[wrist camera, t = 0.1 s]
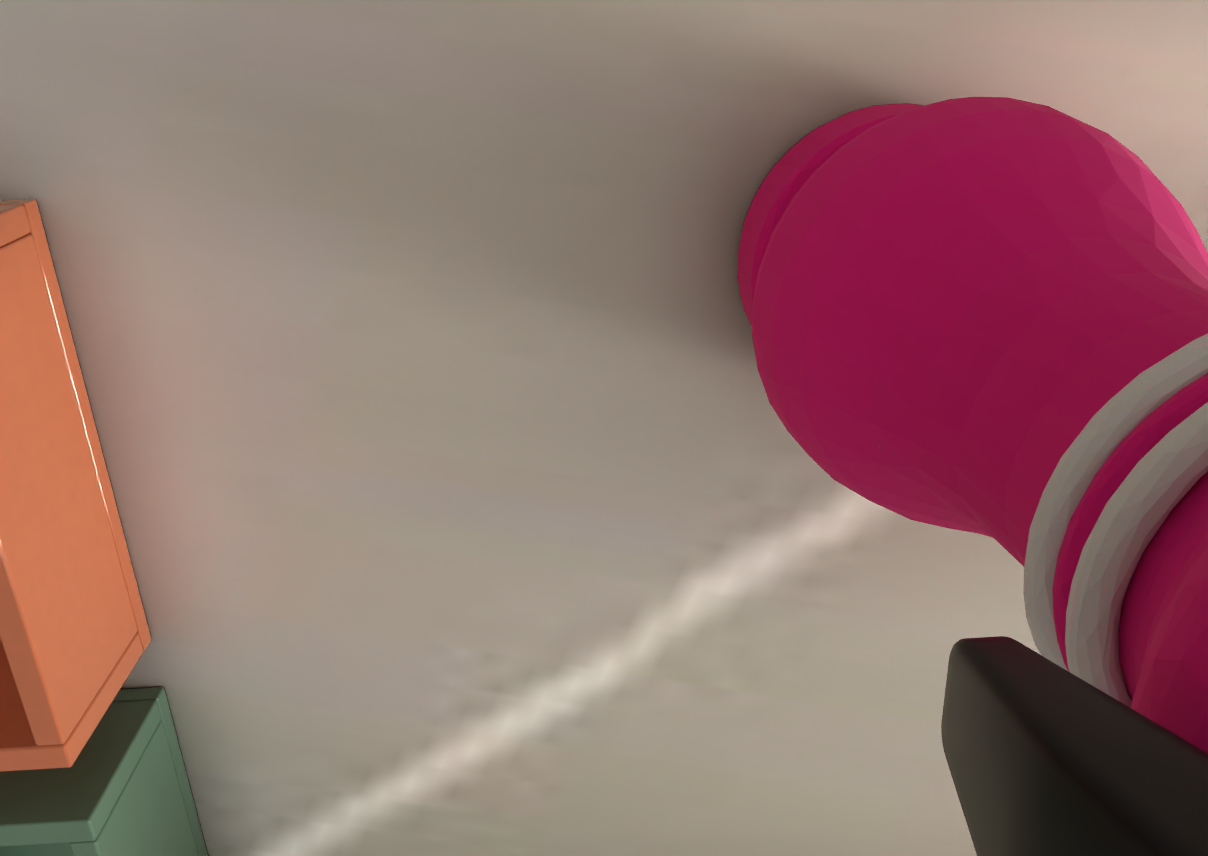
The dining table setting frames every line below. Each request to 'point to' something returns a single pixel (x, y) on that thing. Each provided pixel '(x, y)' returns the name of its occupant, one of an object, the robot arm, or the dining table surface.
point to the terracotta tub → (54, 524)
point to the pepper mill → (1006, 364)
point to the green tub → (108, 792)
